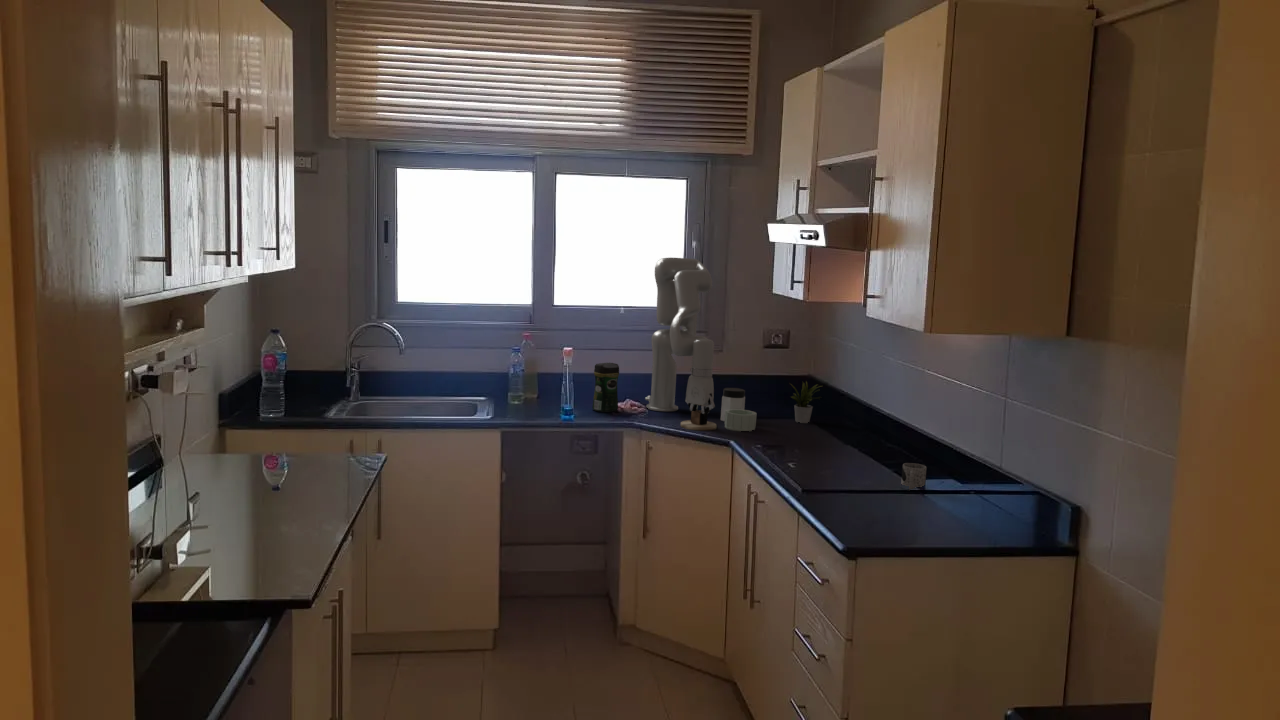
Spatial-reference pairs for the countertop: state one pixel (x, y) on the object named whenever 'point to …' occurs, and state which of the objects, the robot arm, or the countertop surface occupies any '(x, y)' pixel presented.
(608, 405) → the coffee jar
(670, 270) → the robot arm
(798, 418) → the house plant
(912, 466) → the mug
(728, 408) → the jar
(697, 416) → the lid
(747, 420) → the bowl
